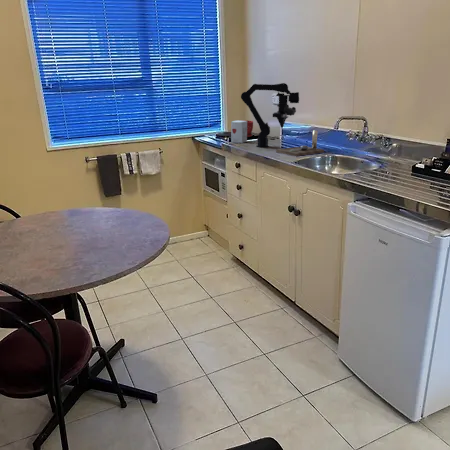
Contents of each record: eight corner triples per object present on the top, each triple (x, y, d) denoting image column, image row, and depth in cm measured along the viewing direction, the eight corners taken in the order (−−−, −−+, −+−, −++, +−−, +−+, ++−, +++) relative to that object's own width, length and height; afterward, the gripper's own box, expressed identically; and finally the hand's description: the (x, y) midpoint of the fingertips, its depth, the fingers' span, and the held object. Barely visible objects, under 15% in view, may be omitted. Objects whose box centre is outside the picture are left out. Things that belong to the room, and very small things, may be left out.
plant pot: (233, 136, 341) (233, 120, 337) (248, 135, 346) (248, 120, 342) (241, 138, 330) (241, 122, 326) (255, 137, 335) (256, 121, 331)
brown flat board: (295, 156, 254) (295, 153, 254) (276, 152, 269) (276, 149, 268) (324, 152, 267) (324, 149, 266) (304, 148, 281) (304, 145, 280)
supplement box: (230, 142, 310) (230, 121, 305) (236, 140, 317) (236, 120, 312) (242, 143, 306) (242, 121, 301) (247, 141, 313) (247, 120, 308)
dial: (293, 151, 260) (294, 132, 256) (289, 149, 263) (289, 132, 260) (318, 148, 267) (319, 130, 264) (313, 147, 271) (314, 130, 268)
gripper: (288, 104, 267) (287, 129, 272) (300, 102, 282) (298, 126, 287) (272, 103, 272) (271, 128, 278) (284, 102, 287) (283, 125, 293)
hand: (282, 127), depth 284 cm, fingers closed
